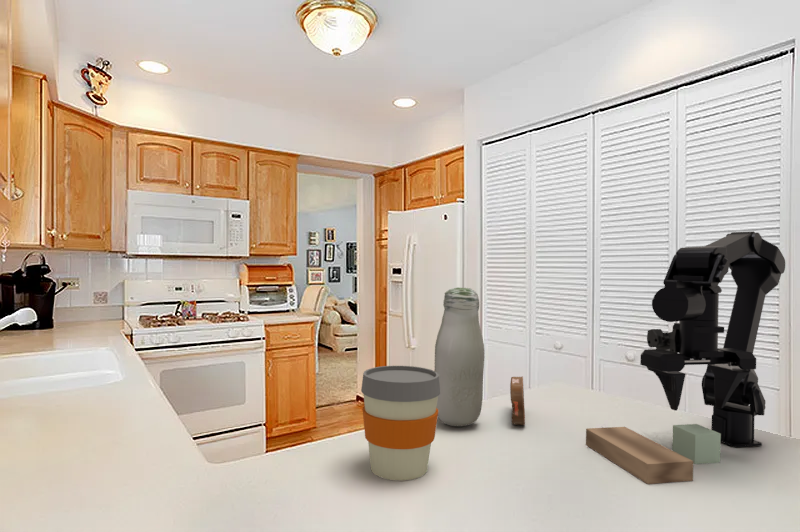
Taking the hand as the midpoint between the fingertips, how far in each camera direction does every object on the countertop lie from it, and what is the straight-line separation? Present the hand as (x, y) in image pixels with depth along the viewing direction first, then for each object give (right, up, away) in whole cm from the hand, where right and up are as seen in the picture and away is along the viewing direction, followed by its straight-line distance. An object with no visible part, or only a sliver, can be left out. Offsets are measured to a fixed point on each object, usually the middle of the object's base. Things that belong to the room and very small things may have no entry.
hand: (696, 408), depth 83 cm
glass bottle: (-40, -8, +14) cm, 43 cm away
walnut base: (-12, -8, -2) cm, 15 cm away
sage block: (0, -9, 0) cm, 9 cm away
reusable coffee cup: (-52, -7, -7) cm, 53 cm away
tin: (-27, -8, +19) cm, 34 cm away
